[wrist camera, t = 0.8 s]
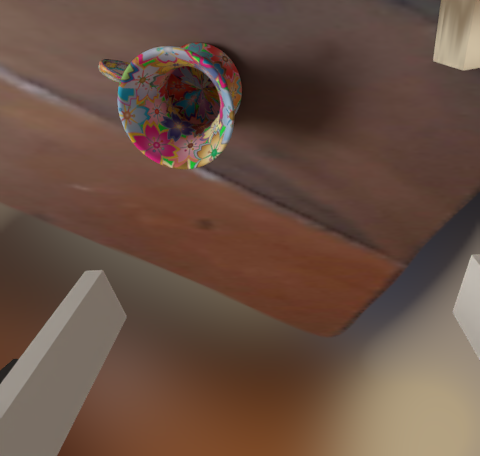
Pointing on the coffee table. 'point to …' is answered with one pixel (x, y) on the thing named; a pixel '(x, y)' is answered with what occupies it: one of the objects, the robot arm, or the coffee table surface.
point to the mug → (178, 102)
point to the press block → (458, 34)
